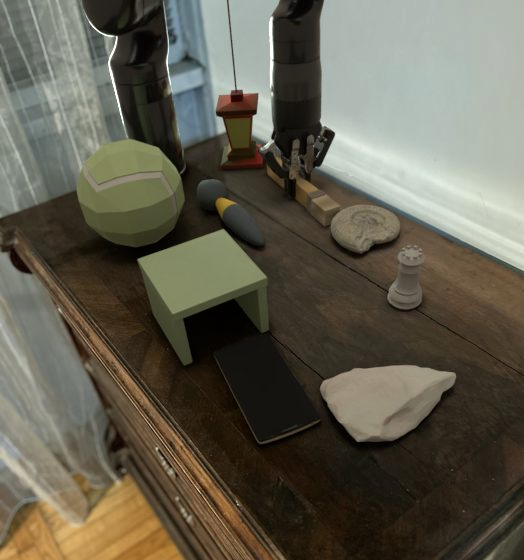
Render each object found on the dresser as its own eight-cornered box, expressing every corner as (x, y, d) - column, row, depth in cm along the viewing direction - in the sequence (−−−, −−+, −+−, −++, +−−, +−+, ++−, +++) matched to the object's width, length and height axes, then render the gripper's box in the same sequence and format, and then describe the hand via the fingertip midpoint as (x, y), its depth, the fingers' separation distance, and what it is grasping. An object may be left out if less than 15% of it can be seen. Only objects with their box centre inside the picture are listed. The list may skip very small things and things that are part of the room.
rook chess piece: (400, 285, 76) (407, 236, 70) (428, 299, 73) (438, 249, 67) (380, 301, 74) (386, 252, 68) (408, 316, 71) (416, 266, 65)
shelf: (151, 312, 75) (136, 258, 68) (230, 282, 78) (223, 228, 72) (185, 368, 67) (172, 314, 61) (271, 332, 71) (267, 277, 64)
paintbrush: (283, 241, 85) (281, 212, 81) (257, 254, 83) (254, 225, 79) (211, 192, 96) (207, 165, 92) (187, 203, 94) (182, 176, 90)
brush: (265, 175, 99) (264, 159, 97) (279, 170, 100) (278, 155, 98) (324, 226, 86) (324, 209, 84) (339, 221, 87) (340, 204, 85)
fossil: (375, 242, 76) (314, 228, 81) (376, 264, 79) (316, 250, 84) (411, 203, 82) (352, 192, 87) (410, 225, 84) (353, 213, 90)
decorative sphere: (199, 251, 84) (183, 158, 73) (101, 275, 81) (70, 183, 71) (177, 203, 94) (160, 115, 83) (89, 223, 91) (60, 135, 81)
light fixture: (263, 148, 106) (251, -39, 85) (262, 167, 101) (249, -27, 79) (224, 150, 107) (202, -35, 85) (221, 169, 101) (196, -23, 80)
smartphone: (267, 331, 69) (322, 418, 59) (268, 337, 70) (322, 424, 60) (212, 350, 67) (259, 442, 58) (213, 356, 68) (260, 449, 58)
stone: (312, 360, 61) (435, 330, 64) (311, 385, 64) (428, 355, 67) (349, 435, 54) (485, 398, 56) (346, 459, 57) (476, 422, 59)
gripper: (267, 108, 77) (273, 216, 89) (349, 85, 81) (344, 191, 93) (243, 91, 81) (251, 196, 94) (321, 70, 85) (320, 173, 98)
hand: (297, 193), depth 93 cm, fingers closed on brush, 2 cm apart
